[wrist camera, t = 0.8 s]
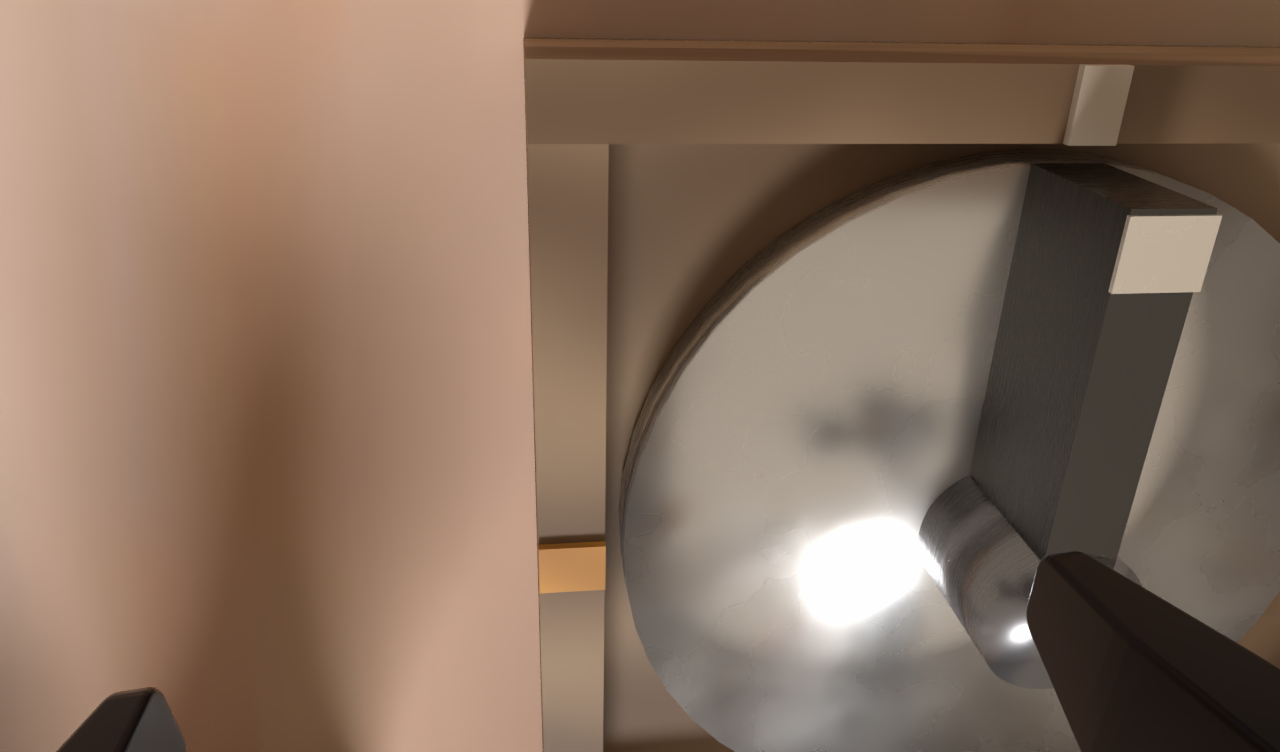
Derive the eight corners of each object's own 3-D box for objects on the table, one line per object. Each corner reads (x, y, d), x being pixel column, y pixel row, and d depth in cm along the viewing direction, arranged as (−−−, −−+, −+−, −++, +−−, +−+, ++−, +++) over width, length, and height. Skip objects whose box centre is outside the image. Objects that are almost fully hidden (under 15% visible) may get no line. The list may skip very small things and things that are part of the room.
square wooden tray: (1200, 736, 32) (1279, 829, 29) (543, 789, 29) (547, 899, 26) (1453, 49, 23) (1615, 70, 19) (523, 38, 20) (525, 60, 17)
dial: (1192, 732, 29) (1314, 877, 25) (613, 779, 27) (633, 946, 23) (1404, 148, 22) (1635, 205, 17) (624, 149, 20) (656, 215, 15)
